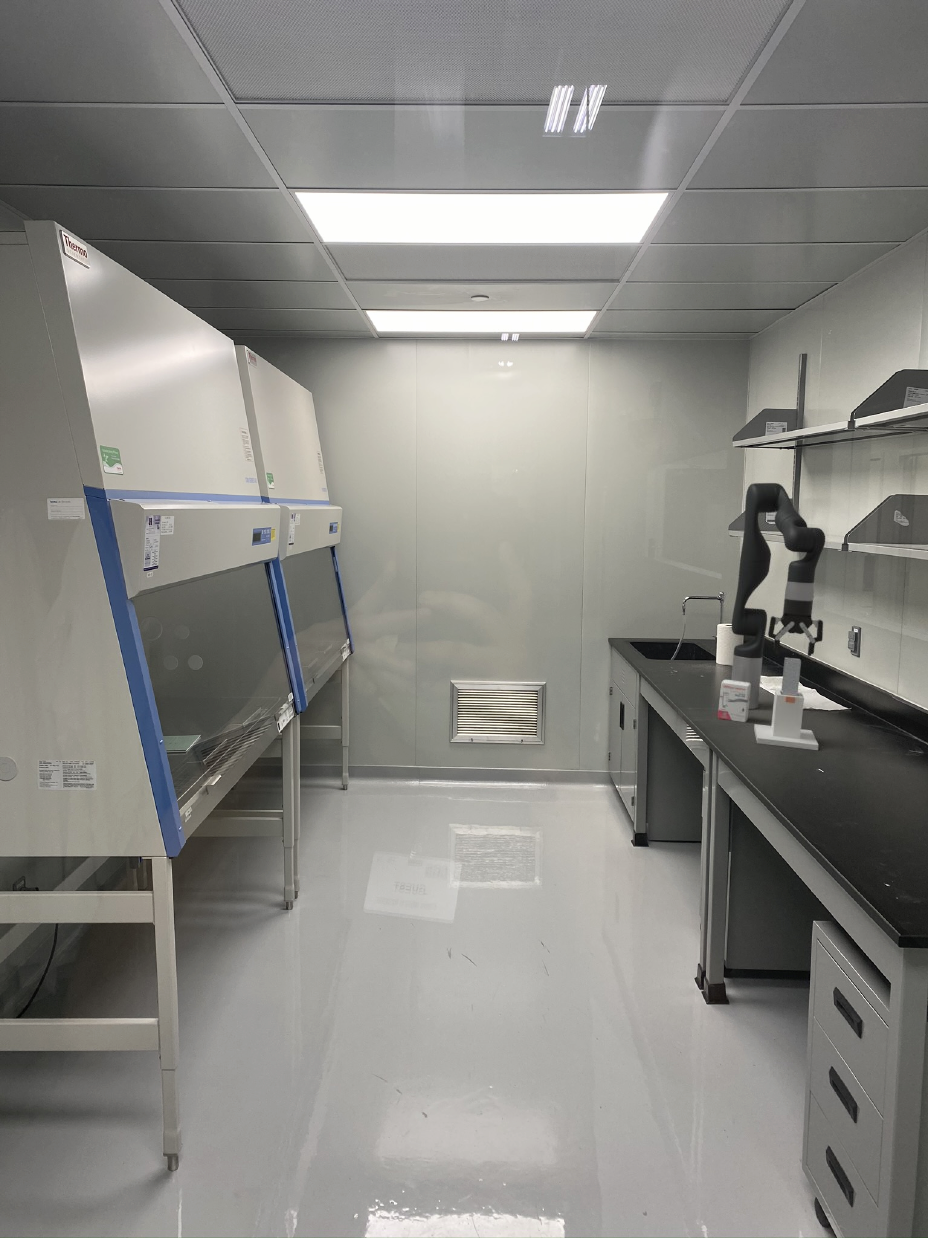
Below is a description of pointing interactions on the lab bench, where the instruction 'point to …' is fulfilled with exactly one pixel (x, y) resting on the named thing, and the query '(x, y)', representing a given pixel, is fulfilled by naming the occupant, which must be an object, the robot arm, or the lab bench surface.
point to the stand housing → (786, 724)
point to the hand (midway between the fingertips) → (793, 654)
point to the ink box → (734, 700)
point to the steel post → (791, 676)
